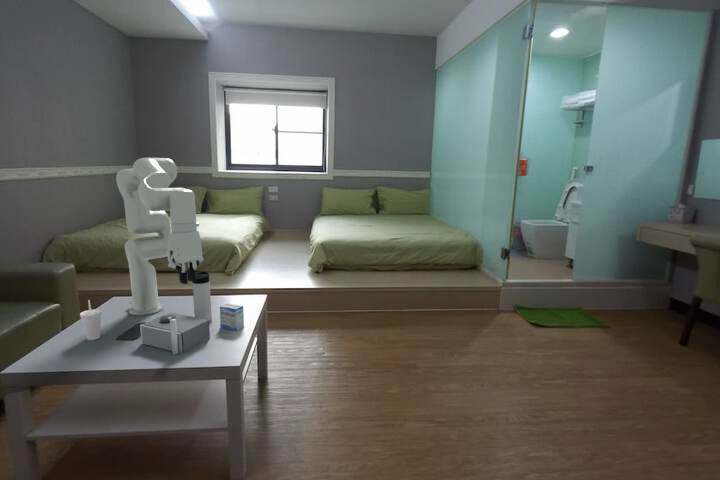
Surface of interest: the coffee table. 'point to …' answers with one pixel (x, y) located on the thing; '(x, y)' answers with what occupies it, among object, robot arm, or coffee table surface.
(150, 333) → the side door
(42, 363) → the coffee table surface
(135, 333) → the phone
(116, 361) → the coffee table surface
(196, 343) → the cabinet body
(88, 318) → the smoothie
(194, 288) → the travel mug
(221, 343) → the coffee table surface
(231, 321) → the medicine box
